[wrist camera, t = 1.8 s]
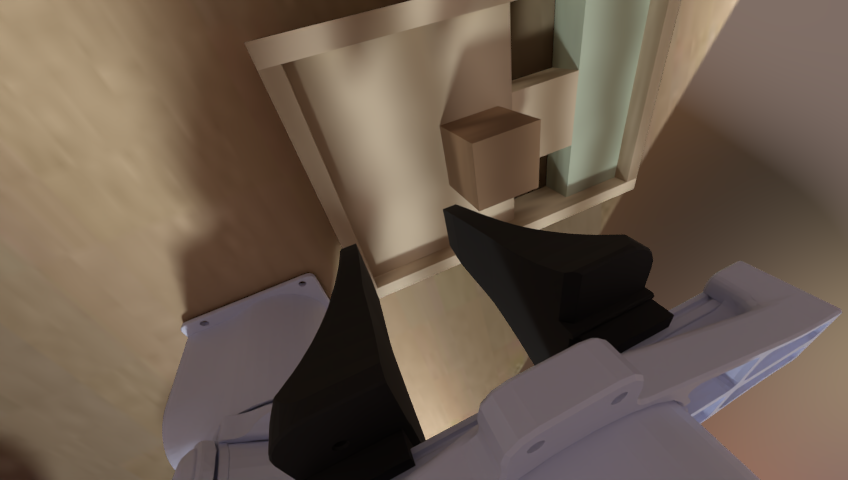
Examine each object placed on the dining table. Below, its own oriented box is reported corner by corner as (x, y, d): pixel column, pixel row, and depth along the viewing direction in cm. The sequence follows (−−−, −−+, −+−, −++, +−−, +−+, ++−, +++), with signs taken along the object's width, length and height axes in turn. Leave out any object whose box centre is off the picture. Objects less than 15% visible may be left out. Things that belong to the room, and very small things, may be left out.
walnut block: (449, 185, 20) (479, 211, 17) (439, 125, 18) (472, 143, 15) (500, 165, 21) (538, 187, 18) (498, 105, 19) (541, 119, 16)
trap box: (358, 272, 25) (368, 303, 22) (251, 41, 15) (243, 42, 12) (598, 173, 29) (633, 188, 26) (636, -56, 19) (699, -73, 16)
